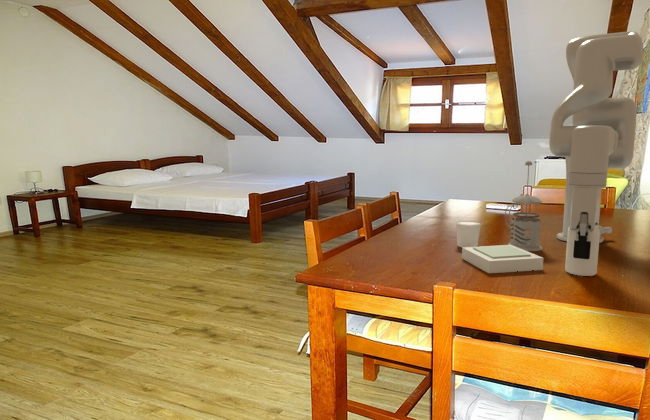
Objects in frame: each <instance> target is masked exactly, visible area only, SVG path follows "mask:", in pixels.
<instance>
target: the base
mask: <svg viewBox="0 0 650 420" xmlns="http://www.w3.org/2000/svg"><path fill="white" fill-rule="evenodd" d="M461 248H462V249H461V259H462V260H464V261H466V262H468V263H469V264H471V265H473V266H475V267H476V268H478V269H480V270H482V271H484V272H485V273H487V274H498V273H499V274H500V273H501V274H502V273H515V272H517V271H518V272H531V271H532V270H534V271H543V269H544V257H542V256H539V255H537V254H535V253H533V252H531V251H525V250H523V249H520V248H518V247H515V246H513V245H507V244H502V245H501V244H500V245H486V246H485V245H484V246H483V245H481V246H477V247H461Z"/></svg>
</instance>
